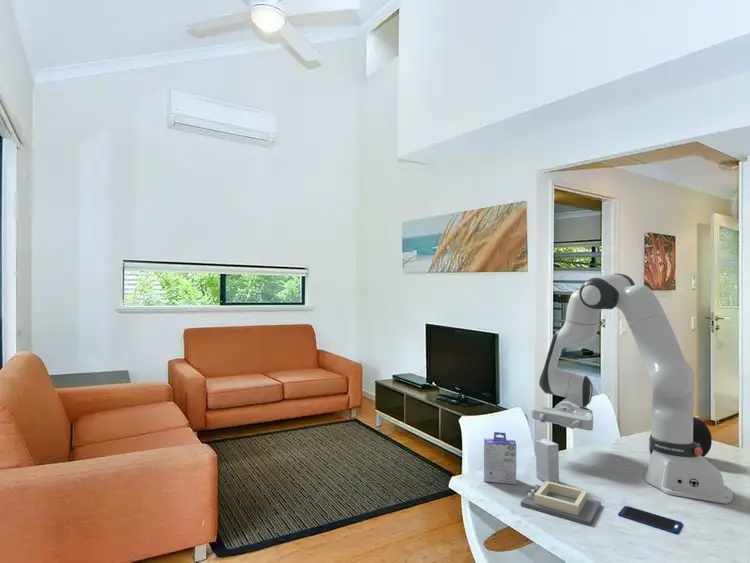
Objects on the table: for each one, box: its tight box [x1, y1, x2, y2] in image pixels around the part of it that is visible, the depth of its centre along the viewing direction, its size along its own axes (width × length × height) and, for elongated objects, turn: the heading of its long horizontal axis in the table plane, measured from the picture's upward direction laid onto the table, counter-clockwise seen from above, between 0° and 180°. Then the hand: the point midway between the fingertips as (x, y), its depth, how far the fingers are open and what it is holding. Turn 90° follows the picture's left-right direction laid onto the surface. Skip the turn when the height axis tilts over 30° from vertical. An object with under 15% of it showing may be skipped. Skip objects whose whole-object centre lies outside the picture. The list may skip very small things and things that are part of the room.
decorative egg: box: [693, 416, 713, 458], centre depth 169 cm, size 12×12×15 cm
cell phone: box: [617, 505, 684, 535], centre depth 124 cm, size 7×14×1 cm, turn 47°
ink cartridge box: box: [483, 431, 517, 485], centre depth 148 cm, size 10×6×14 cm, turn 78°
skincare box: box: [535, 438, 560, 484], centre depth 148 cm, size 6×4×12 cm
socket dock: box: [520, 481, 602, 526], centre depth 132 cm, size 18×14×4 cm
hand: (556, 423), depth 158 cm, fingers open, 8 cm apart
